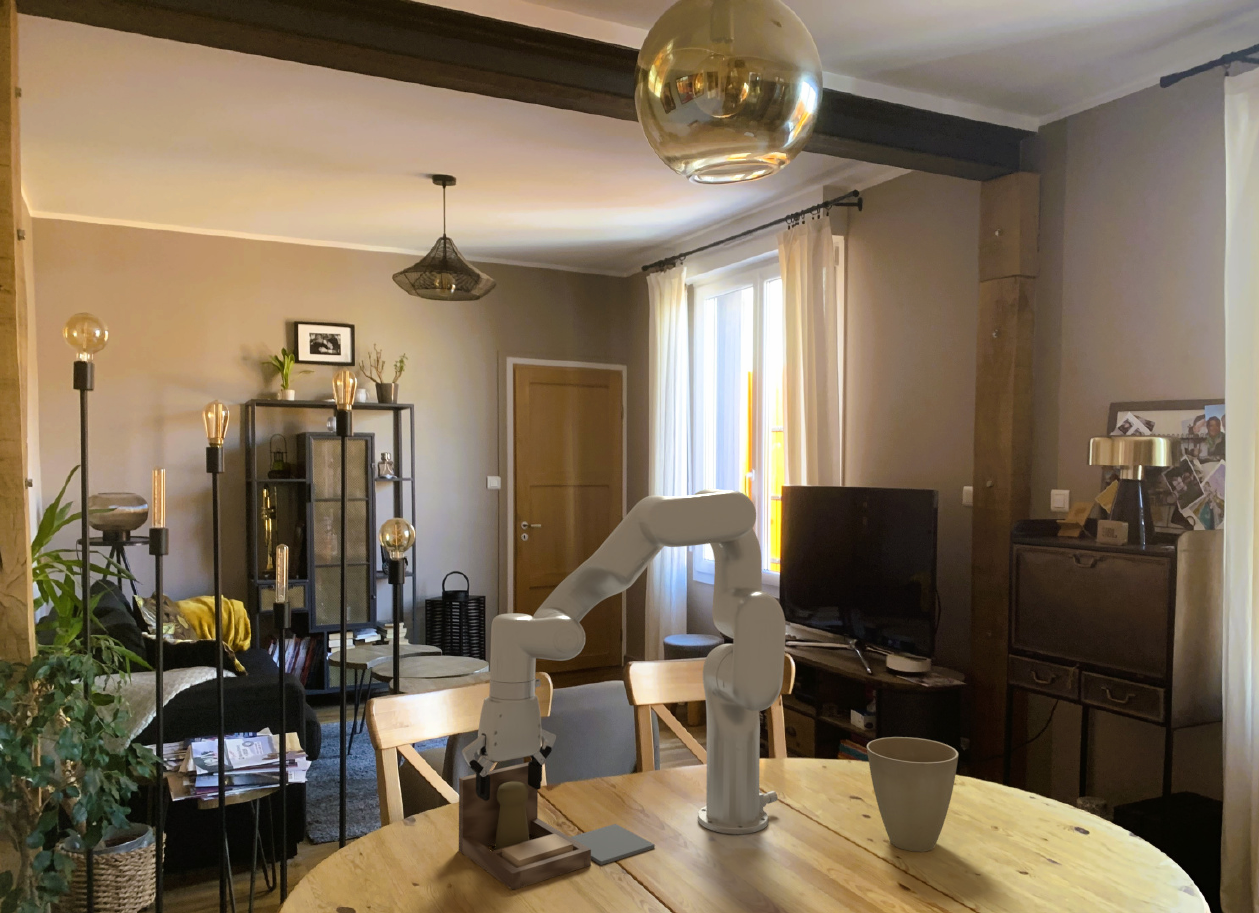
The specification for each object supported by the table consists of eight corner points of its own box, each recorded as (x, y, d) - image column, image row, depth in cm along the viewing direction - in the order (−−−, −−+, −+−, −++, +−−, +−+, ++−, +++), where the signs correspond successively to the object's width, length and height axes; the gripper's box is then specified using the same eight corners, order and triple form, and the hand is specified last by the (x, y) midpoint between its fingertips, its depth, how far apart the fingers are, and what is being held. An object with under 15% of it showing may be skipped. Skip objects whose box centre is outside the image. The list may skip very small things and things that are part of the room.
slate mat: (615, 827, 161) (615, 823, 161) (654, 848, 152) (654, 844, 152) (563, 842, 154) (563, 839, 154) (601, 865, 146) (601, 861, 146)
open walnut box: (533, 829, 160) (533, 761, 160) (590, 865, 146) (591, 790, 146) (458, 850, 151) (459, 777, 151) (512, 890, 137) (512, 810, 137)
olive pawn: (533, 843, 154) (534, 778, 154) (526, 859, 148) (526, 791, 148) (498, 842, 154) (499, 777, 155) (489, 857, 148) (490, 789, 149)
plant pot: (972, 842, 155) (972, 748, 155) (934, 870, 144) (934, 769, 144) (891, 819, 165) (891, 731, 166) (850, 843, 154) (850, 749, 155)
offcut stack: (555, 855, 150) (555, 833, 150) (572, 866, 146) (572, 844, 146) (501, 872, 144) (502, 849, 144) (518, 884, 140) (519, 860, 140)
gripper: (544, 679, 160) (541, 777, 159) (454, 691, 149) (451, 796, 149) (568, 687, 154) (565, 789, 153) (476, 700, 143) (472, 810, 143)
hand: (509, 792), depth 151 cm, fingers open, 9 cm apart
